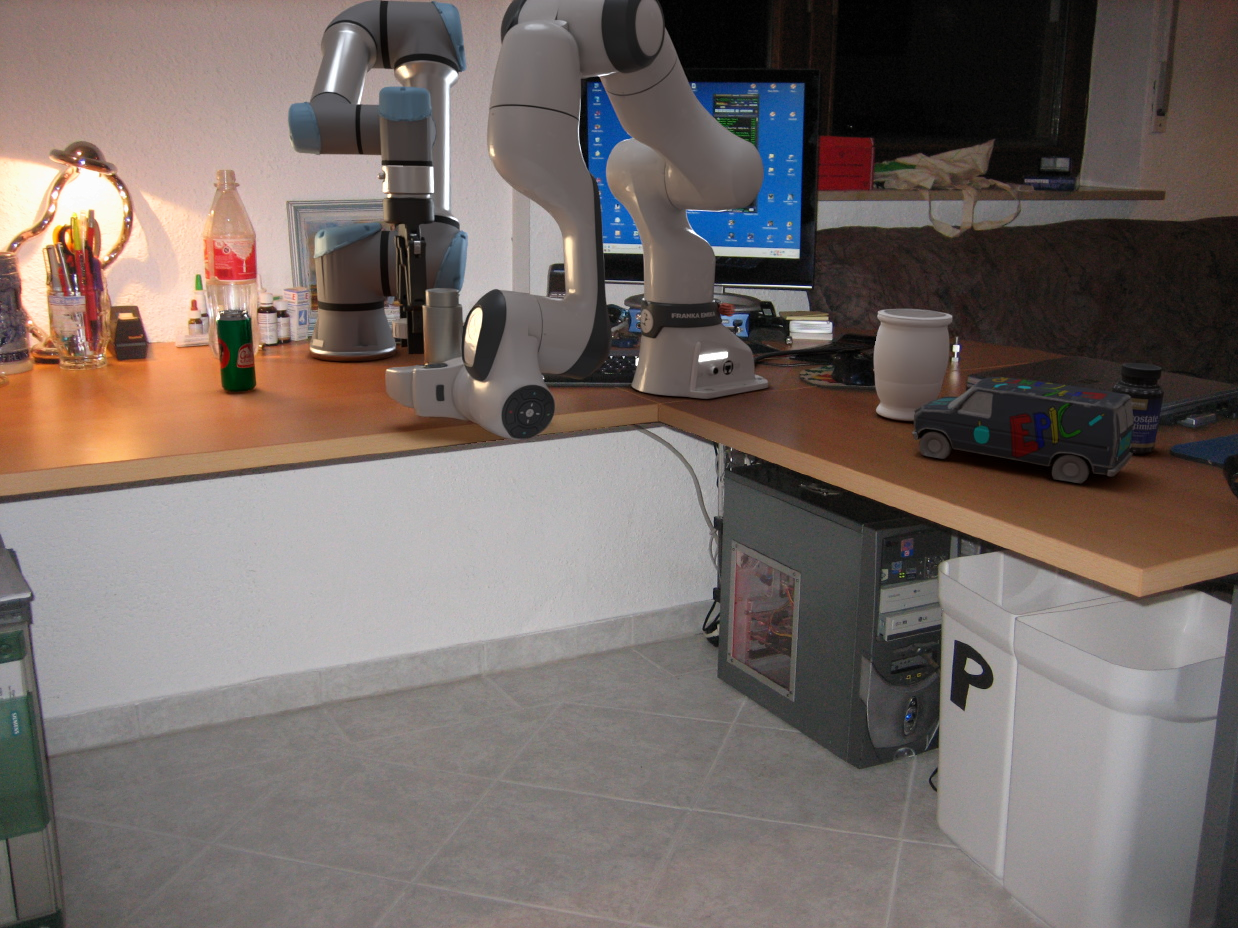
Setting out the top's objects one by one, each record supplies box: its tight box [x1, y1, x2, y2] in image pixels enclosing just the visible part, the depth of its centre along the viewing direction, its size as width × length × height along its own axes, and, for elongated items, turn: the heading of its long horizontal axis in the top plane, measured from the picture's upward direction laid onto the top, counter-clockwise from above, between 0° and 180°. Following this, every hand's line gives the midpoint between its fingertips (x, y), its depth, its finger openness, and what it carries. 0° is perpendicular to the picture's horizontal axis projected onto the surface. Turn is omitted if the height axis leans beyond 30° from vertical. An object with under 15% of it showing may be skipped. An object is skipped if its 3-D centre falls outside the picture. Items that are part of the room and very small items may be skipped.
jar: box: [873, 308, 953, 422], centre depth 154 cm, size 11×10×15 cm
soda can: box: [215, 309, 257, 393], centre depth 163 cm, size 5×5×12 cm
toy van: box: [911, 376, 1135, 484], centre depth 132 cm, size 11×25×10 cm, turn 54°
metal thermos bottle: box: [423, 288, 464, 365], centre depth 151 cm, size 6×6×18 cm
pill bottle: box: [1111, 362, 1165, 455], centre depth 139 cm, size 6×6×11 cm
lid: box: [391, 318, 407, 339], centre depth 164 cm, size 6×6×2 cm
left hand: (413, 350), depth 165 cm, fingers closed on lid, 6 cm apart
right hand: (441, 368), depth 153 cm, fingers closed on metal thermos bottle, 5 cm apart
